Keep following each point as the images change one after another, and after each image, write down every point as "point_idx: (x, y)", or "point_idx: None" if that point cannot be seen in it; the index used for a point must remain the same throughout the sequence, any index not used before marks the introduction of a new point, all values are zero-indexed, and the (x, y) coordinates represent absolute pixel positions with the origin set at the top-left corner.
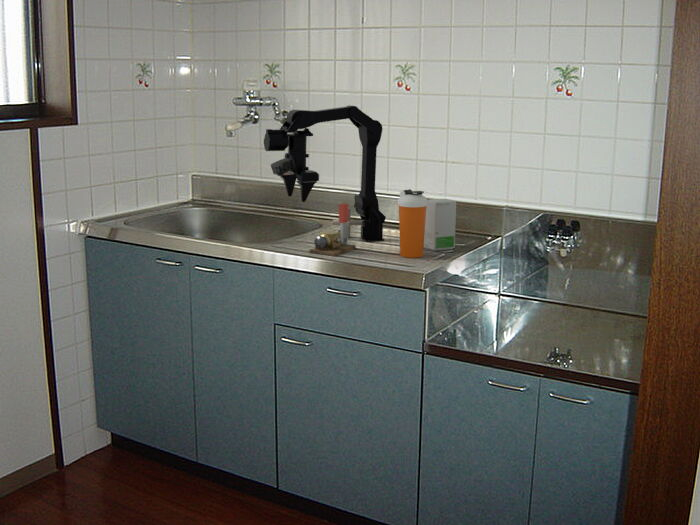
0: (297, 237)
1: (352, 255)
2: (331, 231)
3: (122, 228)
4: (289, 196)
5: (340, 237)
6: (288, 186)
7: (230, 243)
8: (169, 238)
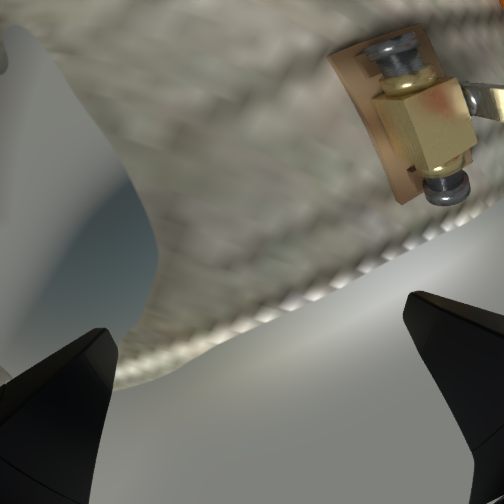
0: (97, 123)
1: None
2: (434, 104)
3: None
4: (114, 343)
5: (481, 116)
6: (87, 441)
7: (139, 346)
8: None
